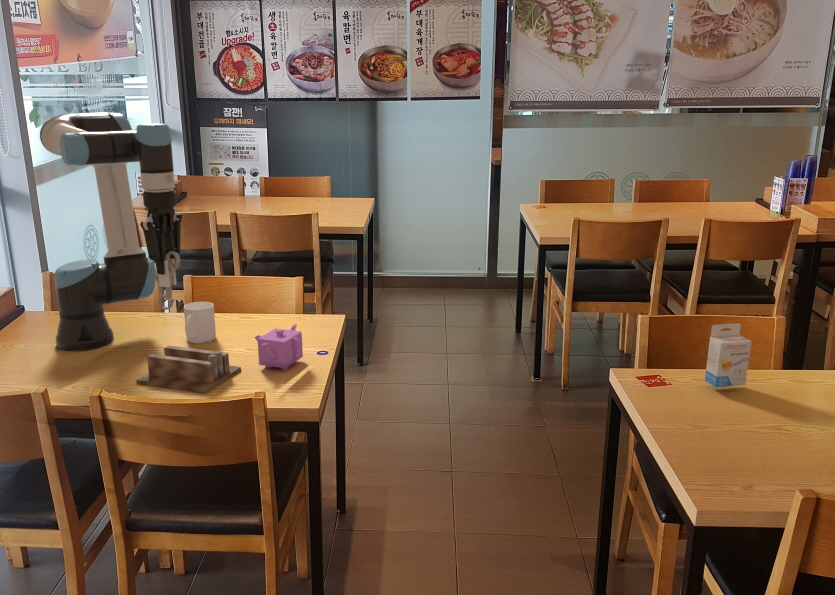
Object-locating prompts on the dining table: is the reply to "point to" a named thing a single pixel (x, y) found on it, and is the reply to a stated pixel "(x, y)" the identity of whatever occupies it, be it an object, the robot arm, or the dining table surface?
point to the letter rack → (188, 369)
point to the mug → (199, 322)
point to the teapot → (280, 348)
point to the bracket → (171, 274)
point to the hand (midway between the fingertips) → (167, 285)
